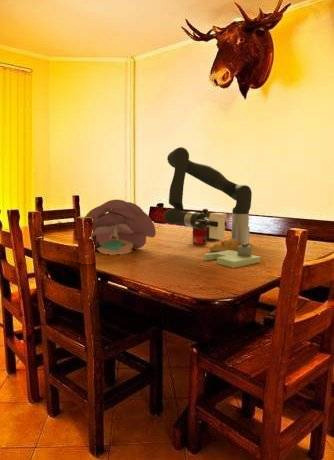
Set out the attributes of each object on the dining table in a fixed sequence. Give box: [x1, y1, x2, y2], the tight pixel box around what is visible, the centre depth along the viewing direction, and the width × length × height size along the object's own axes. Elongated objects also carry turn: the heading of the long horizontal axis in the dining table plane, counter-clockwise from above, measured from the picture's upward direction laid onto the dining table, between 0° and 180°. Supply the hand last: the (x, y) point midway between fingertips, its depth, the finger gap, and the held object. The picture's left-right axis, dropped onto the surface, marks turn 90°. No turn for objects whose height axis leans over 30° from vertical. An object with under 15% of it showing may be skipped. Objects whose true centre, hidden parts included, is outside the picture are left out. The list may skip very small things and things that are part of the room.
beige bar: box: [209, 212, 228, 240], centre depth 157 cm, size 4×6×11 cm
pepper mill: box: [201, 208, 220, 242], centre depth 220 cm, size 16×11×18 cm
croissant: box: [208, 237, 249, 253], centre depth 182 cm, size 21×10×8 cm, turn 106°
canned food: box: [192, 227, 208, 246], centre depth 201 cm, size 8×8×11 cm
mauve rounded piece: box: [84, 199, 157, 256], centre depth 178 cm, size 35×24×28 cm
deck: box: [203, 243, 261, 269], centre depth 159 cm, size 17×18×8 cm
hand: (221, 224), depth 155 cm, fingers closed on beige bar, 4 cm apart
